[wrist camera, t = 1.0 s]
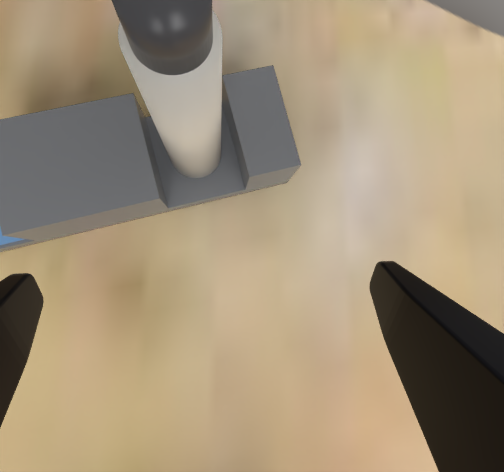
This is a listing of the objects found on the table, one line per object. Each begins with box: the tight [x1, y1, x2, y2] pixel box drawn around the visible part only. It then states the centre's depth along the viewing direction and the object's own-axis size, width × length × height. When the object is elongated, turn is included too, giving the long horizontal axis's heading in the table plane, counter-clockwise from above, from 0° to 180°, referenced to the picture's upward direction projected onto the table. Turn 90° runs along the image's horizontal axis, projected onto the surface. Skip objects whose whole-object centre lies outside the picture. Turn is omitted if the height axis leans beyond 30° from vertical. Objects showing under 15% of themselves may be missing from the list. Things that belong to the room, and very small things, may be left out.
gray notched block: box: [0, 65, 301, 252], centre depth 20 cm, size 6×24×4 cm, turn 105°
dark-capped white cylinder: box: [112, 0, 223, 178], centre depth 15 cm, size 3×3×13 cm
